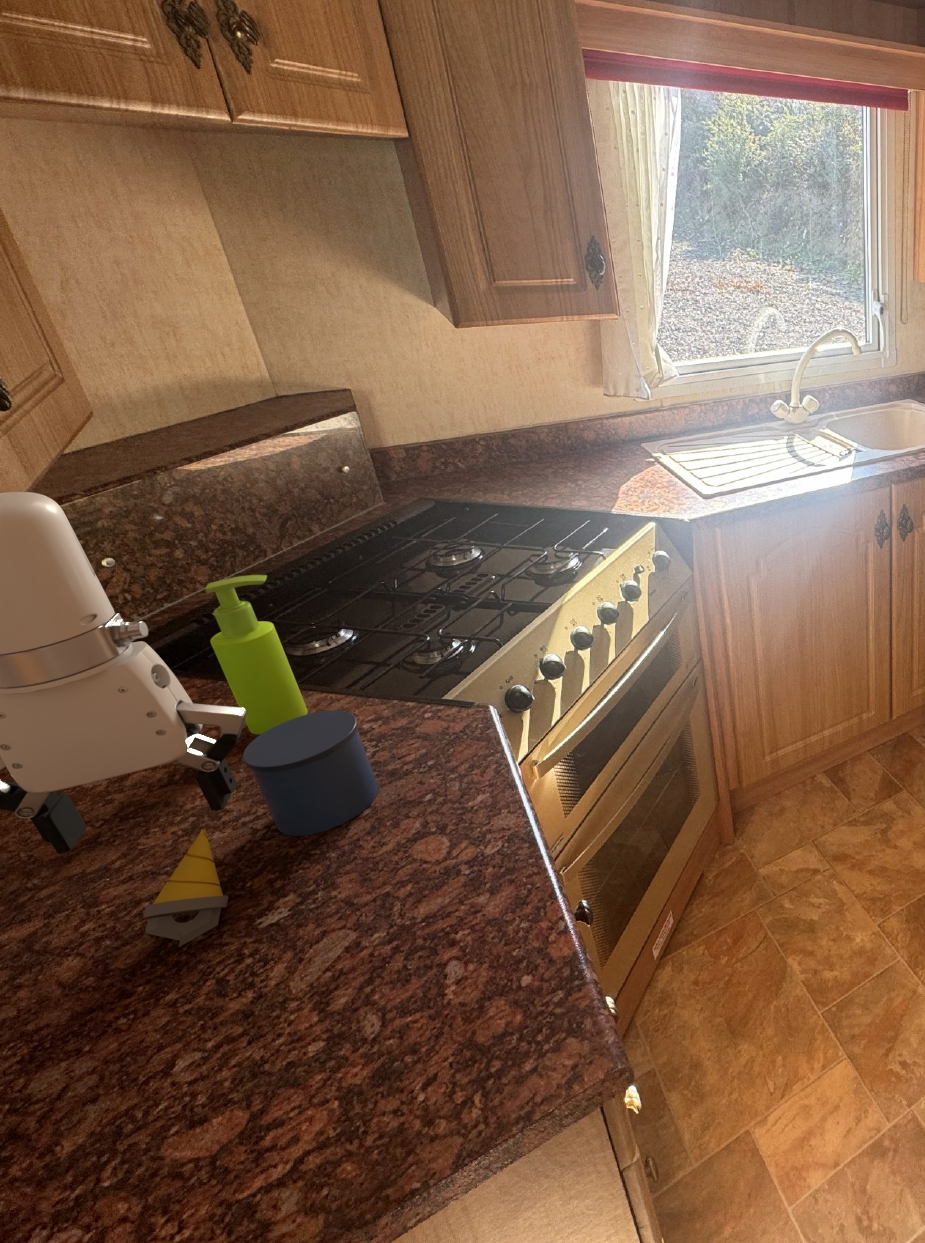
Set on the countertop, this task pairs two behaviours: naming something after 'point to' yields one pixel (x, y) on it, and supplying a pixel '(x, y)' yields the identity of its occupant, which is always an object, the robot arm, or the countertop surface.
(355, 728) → the tin
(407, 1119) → the countertop surface
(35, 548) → the robot arm
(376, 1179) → the countertop surface
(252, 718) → the soap dispenser
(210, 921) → the drill bit
